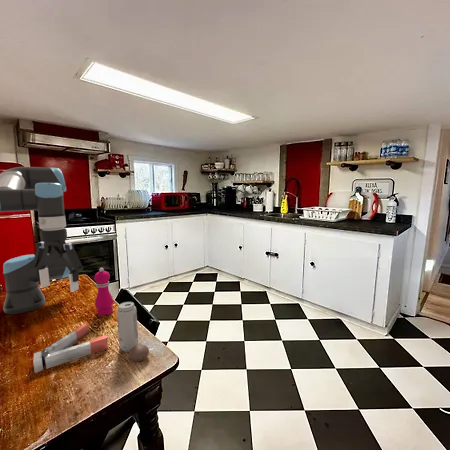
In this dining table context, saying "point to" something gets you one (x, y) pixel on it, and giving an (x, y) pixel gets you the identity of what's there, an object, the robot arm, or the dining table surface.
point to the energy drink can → (127, 326)
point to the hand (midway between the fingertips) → (59, 288)
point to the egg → (138, 353)
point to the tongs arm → (70, 339)
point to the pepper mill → (103, 293)
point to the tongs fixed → (68, 353)
